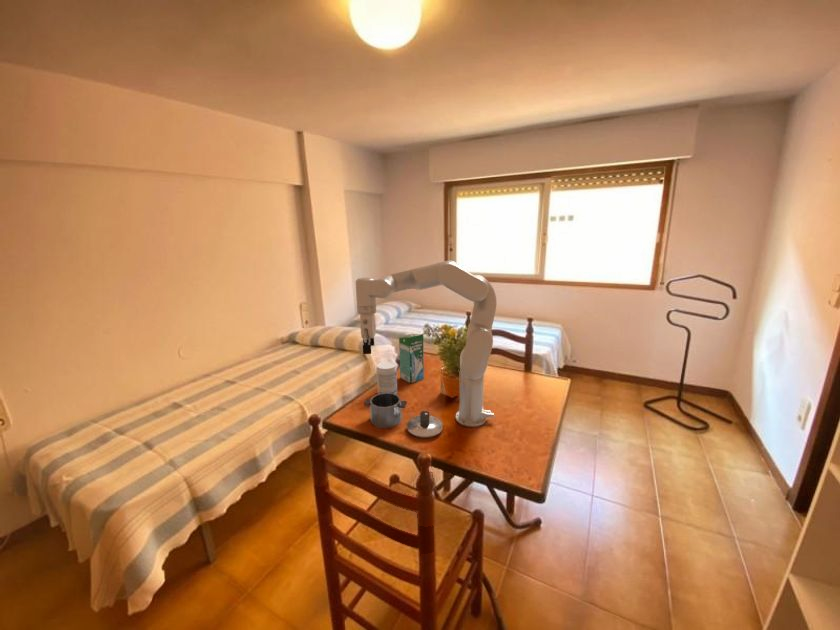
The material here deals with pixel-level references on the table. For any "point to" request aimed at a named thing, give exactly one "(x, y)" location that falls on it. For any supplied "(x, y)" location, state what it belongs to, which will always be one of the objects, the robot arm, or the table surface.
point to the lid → (424, 425)
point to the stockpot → (385, 409)
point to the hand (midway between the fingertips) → (368, 349)
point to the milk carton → (411, 357)
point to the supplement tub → (386, 377)
